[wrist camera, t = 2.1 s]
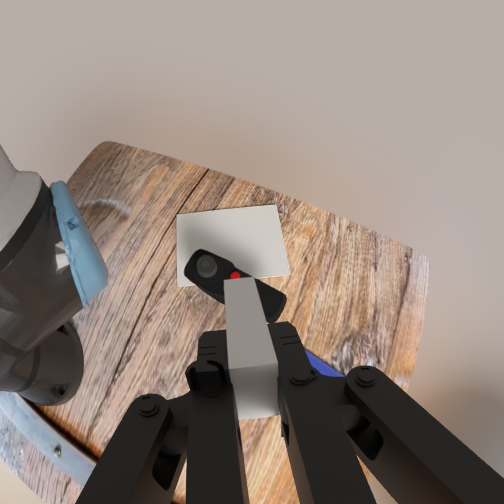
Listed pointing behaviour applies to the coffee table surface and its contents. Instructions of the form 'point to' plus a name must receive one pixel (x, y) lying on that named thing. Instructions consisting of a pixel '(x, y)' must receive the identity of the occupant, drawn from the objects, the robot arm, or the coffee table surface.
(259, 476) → the coffee table surface
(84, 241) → the robot arm
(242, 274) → the controller
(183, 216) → the grey mat
